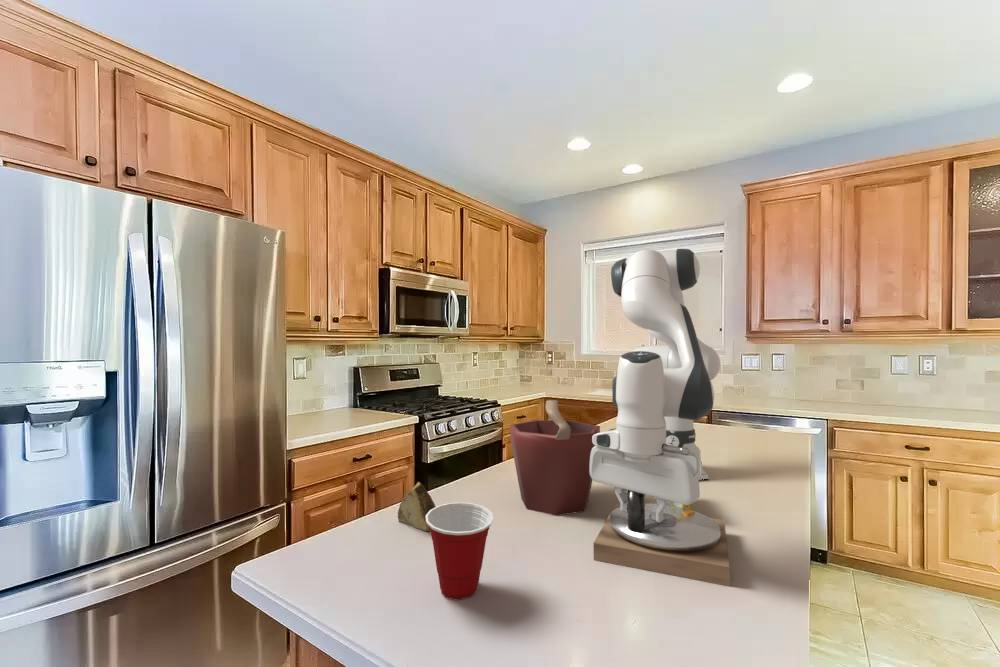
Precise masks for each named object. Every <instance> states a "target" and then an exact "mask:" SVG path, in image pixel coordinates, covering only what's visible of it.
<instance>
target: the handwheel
mask: <svg viewBox="0 0 1000 667" xmlns="http://www.w3.org/2000/svg"><path fill="white" fill-rule="evenodd" d="M645 495H646V494H642V493H638V492H634V491H630V490H627V499H628V513H626V512H622V511H621V510H620V507H619V508H616V509H615V510H613V511H612V510H611V511H612V512H611V511H610V513H611V514H610V513H609V515H610V526H611V528H612V529H613V530H614V531H615V532H616V533H617V534H618V535H620V536H622V537H623V538H625V539H627V540H630V541H632V542H635V543H638V544H641V545H645V546H649V547H653V548H658V549H665V550H676V551H692V550H701V549H706V548H709V547H712V546H714V545H716V544H717V543H718V542H719V541H720V538H721V535H720V527H719V525H718V524H717V523H716V522H715V521H714V520H712V519H711V518H712V517H709V516H707V515H705V514H703V513H701V512H698V511H695V510H692V509H691V510H689V509H686V508H681V507H677V506H673V505H670V504H668V505H667V506H666V508H665V509H664V511H663V520H662V521H661V522H656V521H652V520H651V511H652V510H654V509H655V508H656V509H657V508H658V506H659V504H660V503H659V504H658V503H649V502H648V503H646V502H645V498H646V497H645Z"/></svg>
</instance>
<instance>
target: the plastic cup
mask: <svg viewBox="0 0 1000 667" xmlns="http://www.w3.org/2000/svg"><path fill="white" fill-rule="evenodd" d="M493 521H494V514H493V512H492V511H491V510H490V509H489V508H487V507H486V506H483V505H480V504H476V503H472V502H448V503H445V504H440V505H436V506H435V508H433V509H431V510H430V511H429V512H428V513H427V514H426V523H427V525H428V527H429V529H430V531H429V532H430V536H431V540H432V545H433V553H434V559H435V560H434V561H435V565H436V572H437V575H438V581H439V582H438V583H439V588H440V592H441V595H443V597H445V598H447V597H448V599H450V598H451V599H450V600H457V599H458V600H464V599H463V598H466V599H468V598H471V597H472V596H474V595H475V594H476V593H477V590H478V586H479V583H480V576H481V570H482V566H483V560H484V554H485V549H486V543H487V537H488V535H489V534H488V533H489V530H490V527H491V526H492V523H493Z"/></svg>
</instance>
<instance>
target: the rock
mask: <svg viewBox="0 0 1000 667" xmlns="http://www.w3.org/2000/svg"><path fill="white" fill-rule="evenodd" d="M435 507H436V504H435V502H434V500H433V499H432V497H431V495H430V493H429V492H428V490H426V487H425V486H424V484H422V483H421V482H420V481H417V483H416V484H415V485H414V486H413V488H412V489H411V490H409V491H408V493H406V494H405V495H404V497H403V498H402V499H401V502H400V504H399V508H398V511H397V520H398V521H399V522H401V523H404V524H406V525H409V526H412V527H413V528H416V529H419V530H422V531H425V532H430V529H429V527H428V525H427V523H426V514H427V513H428V512H429V511H430V510H431V509H433V508H435Z"/></svg>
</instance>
